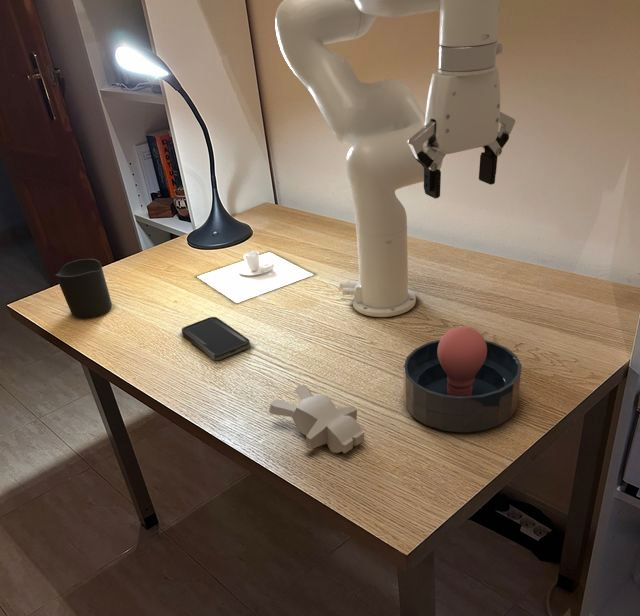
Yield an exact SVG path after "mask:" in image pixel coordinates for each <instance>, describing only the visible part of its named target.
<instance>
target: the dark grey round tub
mask: <svg viewBox="0 0 640 616" xmlns="http://www.w3.org/2000/svg"><path fill="white" fill-rule="evenodd" d="M440 340H441V338H440V339H436V340H434V341H433V340H432V341H430V342H426V343H424V344H422V345H420V346H419V347H416V348H415V349H413V350H412V351H411V352H410V353H409V354H408V355H407V356H406V357H405V360H404V364H403V366H402V367H403V369H402V370H403V400H404V404H405V409H406V410H407V411H408V413H409V414H410V415H411V416H412V417H413V418H414V419H415V420H417V421H419V422H420V423H422V424H423V425H425V426H427V427H431V428H434V429H437V430H441V431H444V432H445V431H446V432H454V433H471V432H472V433H473V432H483V431H485V430H488V429H491V428H496V427H498V426H500V425H502V424H503V423H504V422H506V421H508V420H510V419H511V417H512V416H513V415H514V414H515V412H516V411H517V409H518V403H519V394H520V385H521V384H520V383H521V375H522V366H523V365H522V363H521V361H520V360H519V357H518V356H517V355H516V354H515V353H514V352H512V350H510V349H509V348H507V347H505V346H504V345H502V344H499V343H496V342H494V341H490V340H486V339H484V340H485V342H486V345H487V356H486V359H485V361H484V363H483V365H482V366H481V368H480V370H479V371H478V372H477V374H476V375H475V377H474V378H475V379H474V383H473V384H472V385H473V389H472V395H471V396H454V395H448V392H447V383H448V381H447V377H448V376H447V374H446V373H445V371H444V369H443V368H442V366H441V364H440V362H439V359H438V355H437V349H438V344H439V342H440Z"/></svg>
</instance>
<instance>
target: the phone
mask: <svg viewBox="0 0 640 616" xmlns="http://www.w3.org/2000/svg"><path fill="white" fill-rule="evenodd" d="M181 334H182V336H183V337H184V338H185V339H187V341H189V342H190V343H192V344H193V345H194V346H196V348H198V349H199V350H200V351H201V352H203V353H204V354H205V355H207V356H208V357H209V358H210V359H212V360H213V361H221V360H224V359H227V358H229V357H231V356H233V355H236V354H239V353H240V352H243V351H245V350H247V349H249V348H251V342H250V339H249V338H248V337H246V336H245V335H243V334H242V333H240V332H239V331H237V330H236V329H234V328H233V327H231V326H230V325H228V324H227V323H226V322H224V321H223V320H221V319H220V318H218V317H216V316H209V317H207V318H204V319H202V320H199V321H197V322H194V323H191V324H189V325H186V326H183V327H182V328H181Z"/></svg>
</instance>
